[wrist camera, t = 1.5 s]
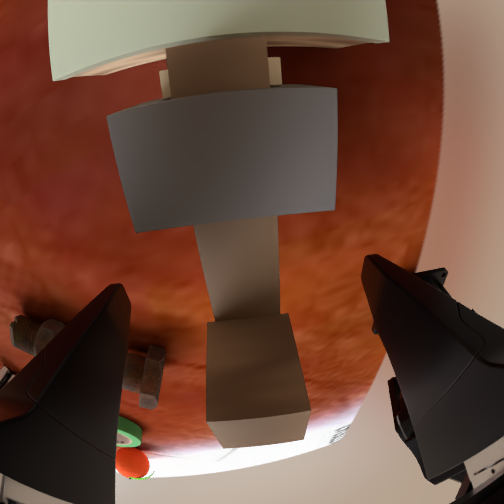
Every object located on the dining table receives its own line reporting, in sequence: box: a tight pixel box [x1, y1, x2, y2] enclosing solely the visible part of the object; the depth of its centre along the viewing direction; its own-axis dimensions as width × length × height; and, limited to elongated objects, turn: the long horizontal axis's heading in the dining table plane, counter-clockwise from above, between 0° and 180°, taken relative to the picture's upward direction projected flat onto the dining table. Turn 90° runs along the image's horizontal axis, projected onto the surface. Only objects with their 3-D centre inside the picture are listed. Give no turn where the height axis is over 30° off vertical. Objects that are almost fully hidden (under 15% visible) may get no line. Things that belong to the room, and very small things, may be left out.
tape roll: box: [116, 416, 142, 447], centre depth 33 cm, size 11×11×3 cm
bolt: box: [10, 315, 166, 409], centre depth 20 cm, size 6×5×15 cm
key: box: [165, 36, 311, 448], centre depth 8 cm, size 3×12×6 cm, turn 5°
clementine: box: [115, 447, 154, 480], centre depth 38 cm, size 8×7×7 cm
